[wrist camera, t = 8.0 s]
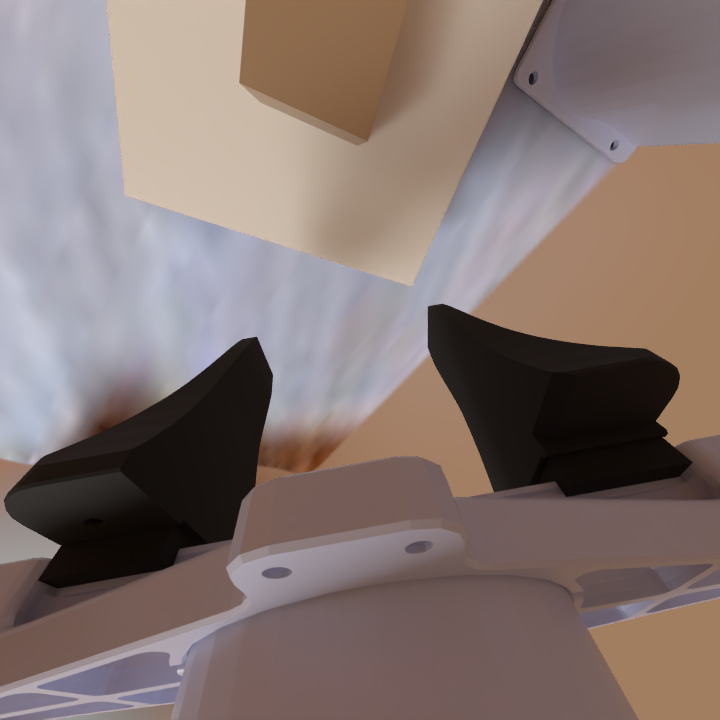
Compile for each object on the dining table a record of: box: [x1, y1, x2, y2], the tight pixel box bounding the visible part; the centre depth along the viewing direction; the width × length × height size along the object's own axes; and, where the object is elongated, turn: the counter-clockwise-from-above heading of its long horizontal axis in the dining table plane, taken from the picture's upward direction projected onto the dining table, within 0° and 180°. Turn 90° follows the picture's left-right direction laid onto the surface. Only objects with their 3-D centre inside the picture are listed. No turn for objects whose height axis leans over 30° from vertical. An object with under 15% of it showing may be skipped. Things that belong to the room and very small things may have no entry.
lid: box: [106, 0, 543, 287], centre depth 9 cm, size 14×14×4 cm
